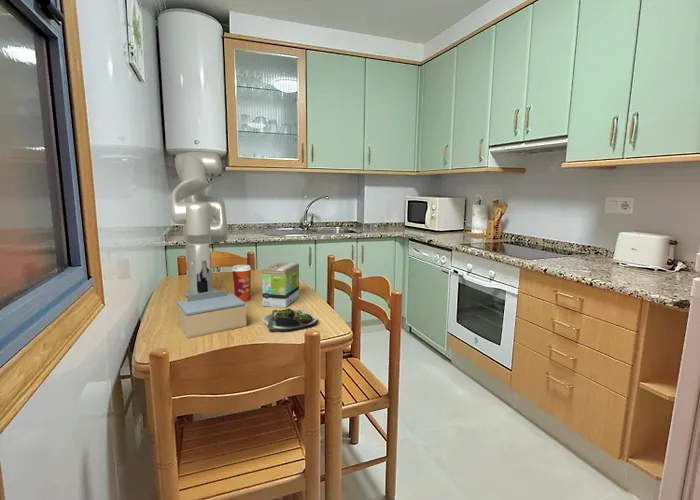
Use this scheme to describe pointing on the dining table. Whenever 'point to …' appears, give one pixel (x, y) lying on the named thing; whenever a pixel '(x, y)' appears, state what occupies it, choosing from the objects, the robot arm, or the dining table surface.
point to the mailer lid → (209, 302)
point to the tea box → (280, 284)
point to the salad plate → (289, 320)
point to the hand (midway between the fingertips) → (202, 291)
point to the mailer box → (212, 321)
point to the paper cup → (242, 281)
